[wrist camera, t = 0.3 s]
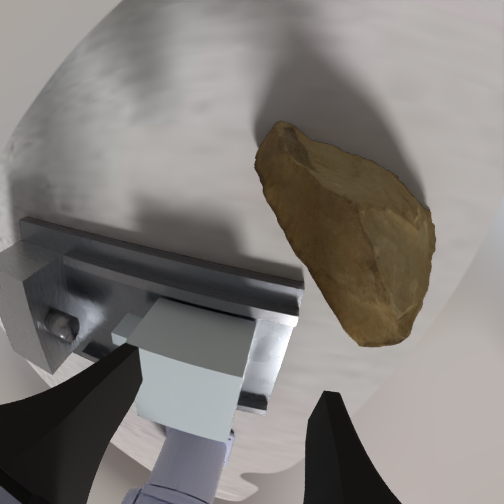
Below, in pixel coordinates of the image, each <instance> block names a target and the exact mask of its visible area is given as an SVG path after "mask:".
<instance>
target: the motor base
mask: <svg viewBox="0 0 504 504" xmlns="http://www.w3.org/2000/svg"><path fill="white" fill-rule="evenodd" d="M19 223H20V231H21V239H22V240H21V241H19V242H18V243H16V244H14V245H12V246H11V247H9V248H7V249H5V250H4V251H2V252H0V317H1V320H2V323H3V325H4V328H5V331H6V333H7V336H8V338H9V341H10V343H11V346H12V348H13V350H14V351H15V352H17V353H18V354H20V355H21V356H23V357H24V358H26V359H27V360H29V361H30V362H32V363H33V364H35V365H37V366H38V367H40V368H42V369H43V370H45V371H47V372H48V373H50V374H52V375H53V374H54V373H55V372H56V370H57V369H58V368H59V367H60V366H61V364H62V363H63V362H64V361H65V360H66V359H67V357H68V356H69V355H70V354H71V353H72V352H73V353H76V354H78V355H80V356H82V357H84V358H86V359H88V360H90V361H92V362H95V363H96V362H97V361H99V360H100V359H102V358H103V357H105V356H106V355H107V354H109V353H110V352H112V351H113V350H115V349H116V348H118V347H119V346H118V345H116V344H113V340H112V334H111V332H112V331H113V330H114V329H115V327H116V326H117V325H118V324H119V323H120V321H121V320H122V319H123V318H124V317H125V316H126V314H127V313H129V314H132V315H135V316H138V317H141V318H144V317H145V315H146V314H147V313H148V311H149V310H150V309H151V308H152V306H153V305H154V304H155V302H156V301H157V300H158V299H159V297H160V298H163V299H167V300H171V301H174V302H178V303H182V304H185V305H189V306H193V307H197V308H201V309H204V310H208V311H212V312H216V313H220V314H225V315H229V316H233V317H237V318H241V319H246V320H250V321H255V322H257V323H256V327H255V331H254V336H253V340H252V345H251V349H250V353H249V358H248V362H247V366H246V370H245V375H244V379H243V383H242V387H241V392H240V396H239V400H238V404H237V408H236V410H240V411H244V412H249V413H253V414H258V415H265V413H266V409H267V403H268V400H269V397H270V394H271V391H272V389H273V386H274V383H275V380H276V377H277V374H278V371H279V369H280V366H281V363H282V360H283V357H284V354H285V351H286V348H287V345H288V342H289V338H290V335H291V332H292V329H293V326H294V327H296V324H297V321H298V318H299V307H300V303H301V300H302V297H303V293H304V282H299V281H295V280H290V279H285V278H281V277H276V276H272V275H267V274H262V273H258V272H253V271H249V270H244V269H240V268H235V267H231V266H226V265H222V264H218V263H213V262H209V261H204V260H200V259H196V258H191V257H187V256H183V255H179V254H174V253H170V252H166V251H162V250H157V249H153V248H149V247H145V246H141V245H137V244H132V243H128V242H124V241H120V240H116V239H112V238H108V237H104V236H100V235H96V234H92V233H88V232H84V231H80V230H76V229H72V228H68V227H64V226H60V225H56V224H53V223H49V222H45V221H41V220H37V219H34V218H30V217H24V218H22V219H20V220H19Z"/></svg>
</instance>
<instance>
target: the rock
mask: <svg viewBox="0 0 504 504" xmlns="http://www.w3.org/2000/svg"><path fill="white" fill-rule="evenodd" d="M255 159H256V161H255V164H254V165H255V167H254V168H255V170H256V172H257V174H258V176H259V178H260V182H261V184H262V186H263V194H264V196H265V198H266V201H267V203H268V204H269V205H270V207H271V208H272V210H273V211H274V213H275V215H276V217H277V221H278V223H279V225H280V227H281V228H282V230H283V231H284V233H285V236H286V239H287V240H288V242H289V244H290V246H291V247H292V249H293V251H294V253H295V255H296V256H297V257H298V258H299V259H300V260H301V261H302V262H303V263H304V264H305V265H306V266H307V268H308V270H309V272H310V274H311V276H312V278H313V279H314V281H315V283H316V284H317V286H318V288H319V289H320V291H321V292H322V294H323V296H324V298H325V300H326V302H327V303H328V305H329V306H330V308H331V309H332V311H333V312H334V314H335V315H336V317H337V318H338V320H339V322H340V324H341V326H342V328H343V330H344V331H345V332H346V333H347V334H348V335H349V336H350V337H351V338H352V339H353V340H354V341H355V342H356V343H357V344H358V345H359V346H361V347H381V346H390V345H395V344H398V343H401V342H402V341H403V340H405V339H406V338H407V337H408V336H409V335H410V333H411V330H412V326H413V323H414V321H415V318H416V316H417V314H418V313H419V311H420V310H421V308H422V305H423V299H424V297H425V295H426V293H427V291H428V286H429V277H430V272H431V268H432V265H431V260H432V255H433V253H434V252H435V243H436V237H435V226H434V224H433V223H432V219H431V212H430V211H429V210H427V209H425V208H423V207H422V205H421V204H420V203H419V202H418V200H417V199H416V198H415V197H414V196H413V195H412V194H411V193H410V191H409V190H408V188H407V187H406V186H405V185H404V184H403V183H402V182H401V181H400V180H399V179H398V176H397V175H395V174H393V173H391V172H390V171H388V170H386V169H384V168H382V167H381V166H379V165H377V163H375V162H373V161H371V160H367V159H364V158H363V157H361V156H358V155H351V154H349V153H347V152H344V151H342V150H340V149H339V148H338V147H335V146H332V145H329V144H326V143H320V142H316V141H312V140H310V139H309V138H308V137H307V136H306V135H305V134H303V133H302V132H300V131H299V130H298V129H297V128H296V127H295V126H293V125H291V124H289V123H284V122H282V121H278V122H277V123H276V124H275V126H274V127H273V128H272V130H271V131H270V133H269V134H268V135H267V137H266V138H265V139H264V140H263V142H262V144H261V146H260V147H259V149H258V151H257V154H256V157H255Z"/></svg>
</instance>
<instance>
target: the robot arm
mask: <svg viewBox="0 0 504 504" xmlns="http://www.w3.org/2000/svg"><path fill="white" fill-rule="evenodd" d="M142 381H143V377H142V370H141V363H140V355H139V347H137V346H134V345H131V344H128V343H123V344H122V345H120V346H119V347H118V348H116V349H115V350H113V351H112V352H110V353H109V354H107V355H106V356H105V357H103V358H102V359H100V360H99V361H97V362H96V363H94V364H93V365H91V366H90V367H88V368H87V369H85V370H83V371H82V372H80V373H79V374H77V375H75V376H73V377H72V378H70V379H68V380H66V381H65V382H63V383H61V384H59V385H57V386H55V387H53V388H51V389H49V390H46V391H44V392H42V393H39V394H37V395H34V396H31V397H28V398H25V399H22V400H19V401H15V402H11V403H7V404H3V405H0V504H86V503H87V500H88V496H89V493H90V490H91V486H92V483H93V480H94V478H95V475H96V472H97V470H98V467H99V464H100V462H101V459H102V457H103V455H104V452H105V450H106V448H107V446H108V444H109V442H110V440H111V438H112V437H113V435H114V433H115V432H116V430H117V428H118V427H119V425H120V423H121V422H122V420H123V418H124V417H125V415H126V413H127V412H128V410H129V408H130V407H131V405H132V403H133V402H134V400H135V398H136V395H137V393H138V391H139V389H140V386H141V384H142ZM165 429H166V437H167V438H166V440H165V442H164V445H163V447H162V449H161V452H160V454H159V456H158V459H157V461H156V463H155V466H154V468H153V471H152V473H151V475H150V478H149V480H148V483H147V484H146V483H144V485H143V488H139V487H135V488H132V489H130V490H129V491H128V492H127V494H126V496H125V497H124V499H123V501H122V504H213V501H214V497H215V493H216V490H217V486H218V482H219V479H220V475H221V471H222V468H223V466H226V465H227V461H228V458H229V454H230V451H231V447H232V443H233V440H234V434H233V433H230V435H229V438H228V442H227V443H224V442H220V441H216V440H212V439H208V438H205V437H201V436H197V435H194V434H190V433H187V432H184V431H181V430H177V429H174V428H171V427H168V426H165ZM303 504H402V503H401V502H400V501H399V500H398V499H397V497H396V496H395V495H394V494H393V493H392V492H391V490H390V489H389V488H388V486H387V485H386V484H385V482H384V481H383V480H382V478H381V477H380V475H379V473H378V472H377V470H376V469H375V467H374V465H373V464H372V462H371V460H370V458H369V457H368V455H367V453H366V451H365V449H364V447H363V445H362V443H361V441H360V439H359V437H358V435H357V433H356V431H355V429H354V426H353V424H352V422H351V419H350V417H349V415H348V412H347V410H346V407H345V405H344V402H343V400H342V397H341V395H340V393H339V392H331V391H323V393H322V395H321V397H320V399H319V401H318V403H317V405H316V407H315V408H314V410H313V412H312V414H311V416H310V418H309V419H308V426H307V433H306V442H305V493H304V502H303Z"/></svg>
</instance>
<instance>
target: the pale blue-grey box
mask: <svg viewBox="0 0 504 504" xmlns="http://www.w3.org/2000/svg"><path fill="white" fill-rule="evenodd" d="M256 323H257V322H255V321H250V320H246V319H241V318H237V317H233V316H229V315H225V314H220V313H216V312H212V311H208V310H204V309H201V308H197V307H193V306H189V305H185V304H182V303H178V302H174V301H171V300H167V299H163V298H160V297H159V299H158V300H157V301H156V302H155V304H154V305H153V306H152V308H151V309H150V310H149V311H148V313H147V314H146V315H145V317H144V318H141V317H138V316H135V315H132V314H129V313H127V314H126V316H125V317H124V318H123V319H122V320H121V321H120V323H119V324H118V325H117V326H116V327H115V329H114V330H113V331H112V332H111V334H112V340H113V344H116V345H118V346H120V345H122V344H123V343H128V344H131V345H134V346H137V347H139V355H140V363H141V370H142V377H143V381H142V384H141V386H140V389H139V391H138V393H137V395H136V398H135V404H136V408H137V413H138V416H140V417H143V418H146V419H148V420H151V421H154V422H157V423H159V424H162V425H165V426H168V427H171V428H174V429H177V430H181V431H184V432H187V433H190V434H194V435H197V436H201V437H205V438H208V439H212V440H216V441H220V442H224V443H227V442H228V438H229V435H230V431H231V427H232V423H233V419H234V415H235V411H236V408H237V404H238V400H239V396H240V392H241V387H242V383H243V379H244V375H245V370H246V366H247V362H248V358H249V353H250V349H251V345H252V340H253V336H254V331H255V327H256Z"/></svg>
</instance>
